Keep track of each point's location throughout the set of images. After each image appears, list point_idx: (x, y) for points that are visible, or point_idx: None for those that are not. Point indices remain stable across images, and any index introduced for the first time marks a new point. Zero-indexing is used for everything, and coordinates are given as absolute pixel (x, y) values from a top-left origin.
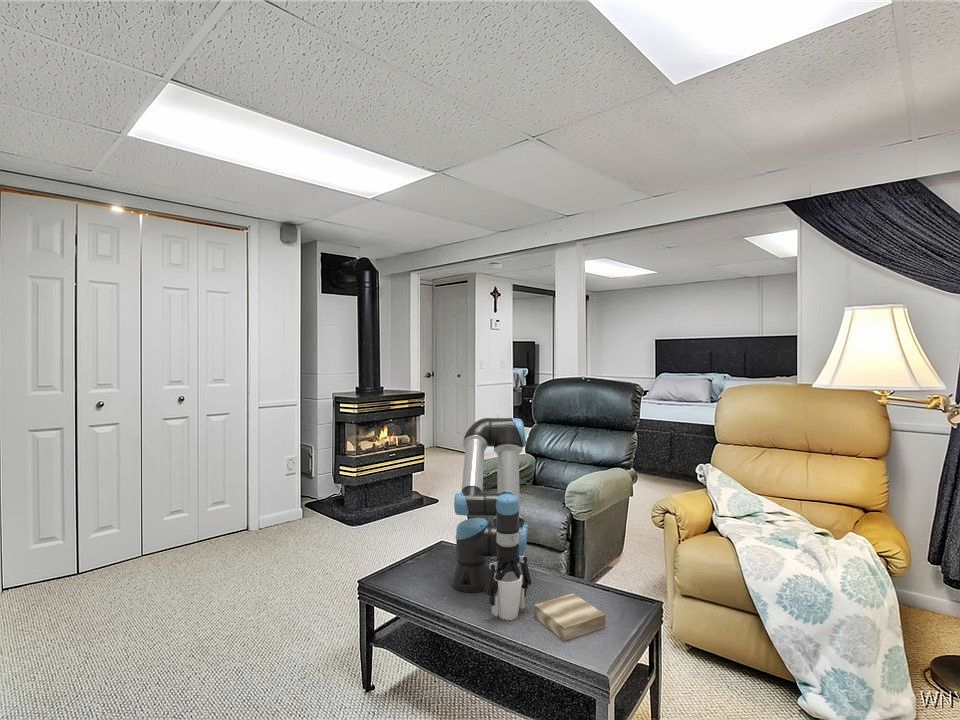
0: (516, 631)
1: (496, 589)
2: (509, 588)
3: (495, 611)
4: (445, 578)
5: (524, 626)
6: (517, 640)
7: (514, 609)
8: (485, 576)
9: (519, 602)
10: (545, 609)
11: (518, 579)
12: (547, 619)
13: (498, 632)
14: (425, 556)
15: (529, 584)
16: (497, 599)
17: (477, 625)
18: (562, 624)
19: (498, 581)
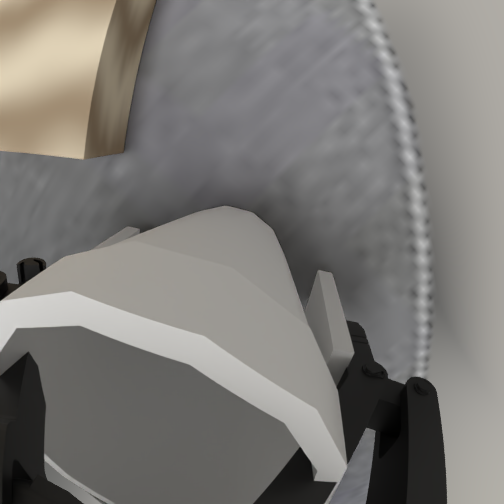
0: (315, 100)
1: (349, 400)
2: (264, 303)
3: (335, 289)
4: None
5: (237, 107)
6: (373, 40)
7: (221, 214)
8: None
9: None
10: (74, 69)
11: (38, 325)
12: (127, 17)
13: (399, 168)
14: None
15: (2, 274)
16: (331, 330)
17: (419, 293)
18: None
19: (343, 471)
